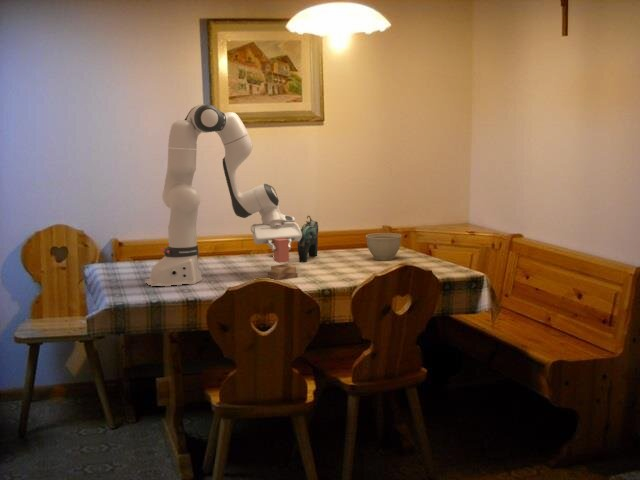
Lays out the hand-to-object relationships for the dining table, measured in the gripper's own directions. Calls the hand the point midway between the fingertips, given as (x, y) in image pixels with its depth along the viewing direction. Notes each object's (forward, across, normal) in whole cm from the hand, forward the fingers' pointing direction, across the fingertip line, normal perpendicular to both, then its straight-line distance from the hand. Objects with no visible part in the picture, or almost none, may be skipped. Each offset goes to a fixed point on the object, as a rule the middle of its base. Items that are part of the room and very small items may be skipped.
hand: (281, 249), depth 310 cm
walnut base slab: (+8, 0, +9) cm, 12 cm away
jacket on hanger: (-17, +25, +33) cm, 45 cm away
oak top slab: (+6, 0, +7) cm, 9 cm away
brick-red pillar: (+3, 0, +4) cm, 5 cm away
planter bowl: (-6, +56, +22) cm, 60 cm away
